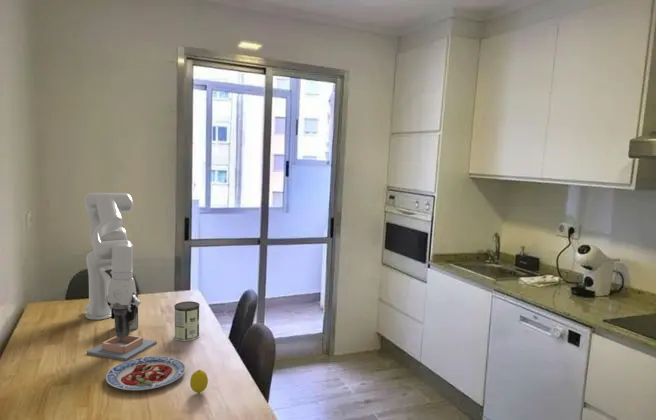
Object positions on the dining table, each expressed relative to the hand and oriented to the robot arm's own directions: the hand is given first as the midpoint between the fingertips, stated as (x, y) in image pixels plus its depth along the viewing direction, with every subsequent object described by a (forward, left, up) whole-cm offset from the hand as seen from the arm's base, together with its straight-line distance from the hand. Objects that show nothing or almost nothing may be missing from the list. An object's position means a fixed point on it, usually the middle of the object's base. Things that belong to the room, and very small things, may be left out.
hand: (122, 318), depth 183 cm
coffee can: (+16, +20, -12) cm, 28 cm away
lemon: (+47, -21, -12) cm, 53 cm away
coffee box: (-14, +19, -12) cm, 27 cm away
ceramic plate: (+24, -17, -13) cm, 32 cm away
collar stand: (0, 0, -12) cm, 12 cm away
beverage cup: (0, 0, -7) cm, 7 cm away
